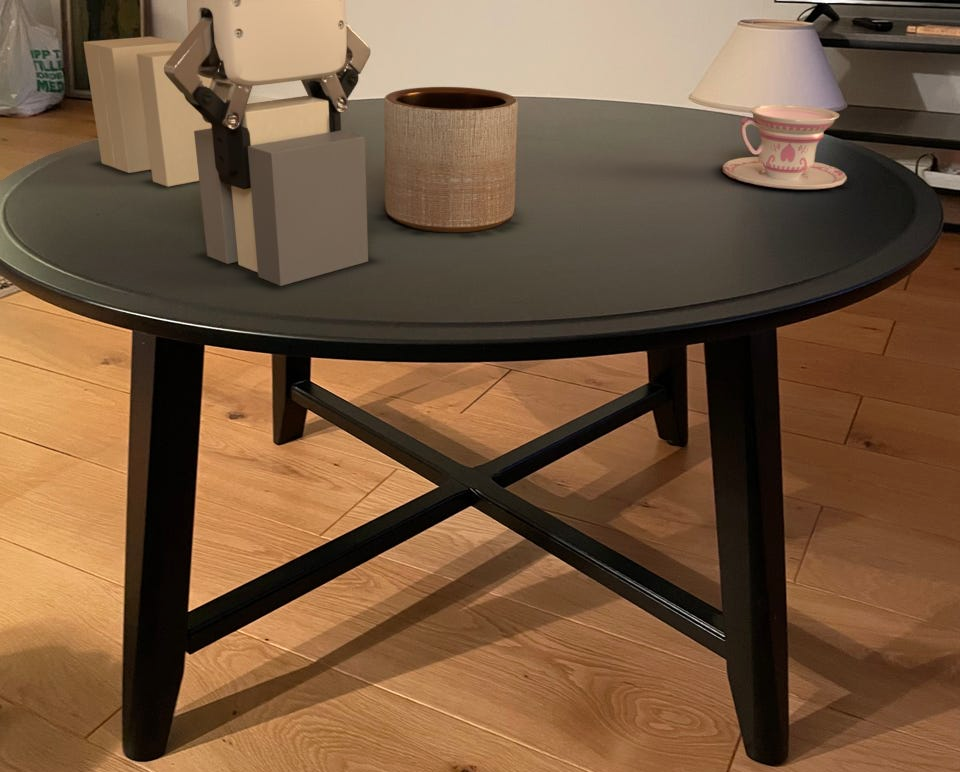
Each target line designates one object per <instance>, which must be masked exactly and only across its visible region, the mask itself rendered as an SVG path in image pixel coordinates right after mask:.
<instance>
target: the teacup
mask: <svg viewBox="0 0 960 772" xmlns="http://www.w3.org/2000/svg"><path fill="white" fill-rule="evenodd" d="M749 112H751V114H752V117H753V119H752V118H749V119H748V117H747V116H745V117H743V118H740V119H739V122H740V123H741V126H740V135H741V139H742V141H743V143H744V144H745V146H746V147H747V149H748V151H749V152H750V153H751V154H752V155H755V156H749V157H748V156H747V157H739V158H735V159H731V160H728V161H726V162H724V164H722V172H723V173H724V174H725V175H727V176H728V177H729V178H731V179H735V180H737V181H740V182H744V183H748V184H753V185H756V186H761V187H762V186H763V187H769V188H774V189H775V188H776V189H786V190H821V189H831V188H832V189H833V188H836V187H839V186H842V185H844V183H845V182H847V178H848V177H847V175H846V173H845V172H844V171H842V170H840V169H839V168H837V167H834V166H831V165H828V164H825V163H821V162H816V161H815V159H816V152H817V147H818V144H819V143H820V141H821V140H822V139H823V138H824V136H825V134H824V132H825V131H826V130H828V129H829V128H830V127H831V126H833V124H834V123H835V121H836V120H838V118H839V117H840V114H839V112H836V111H833V110H830V109H826V108H822V107H816V106H807V105H797V104H761V105H754V106H752V107H750V108H749ZM749 125H752V126H755V127H756V128H758V129H757V131H758V133H759V136H760V145H759V146H758V147H757V149H754V147H753V145H751V143H750V141H749V139H748V136H747V131H746V129H747V126H749ZM756 155H757V156H756Z"/></svg>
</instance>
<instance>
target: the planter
mask: <svg viewBox="0 0 960 772" xmlns="http://www.w3.org/2000/svg"><path fill="white" fill-rule="evenodd" d="M383 100H384V101H383V102H384V104H383V105H384V107H383V108H384V111H383V112H384V205H385V211H386V214H387V215H388V216H390V217H391V218H392V219H393V220H395V222H397V223H399V224H401V225H402V226H406V227H409V228H413V229H415V230H421V231H426V232H436V233H470V232H471V233H472V232H479V231H485V230H489V229H493V228H495V227H496V228H497V227H498V226H500V225H502V224H503V223H505V222H507V221H508V220H510V218H512V216H513V215H514V213H515V205H516V173H517V172H516V171H517V170H516V169H517V135H518V133H517V131H518V111H519V110H518V109H519V108H518V107H519V106H518V105H519V101H518V99H517V97H515V96H513V95H512V94H508V93H505V92H501V91H497V90H491V89H486V88H477V87H476V88H475V87H465V86H464V87H463V86H423V87H413V88H411V87H410V88H404V89H400V90H395V91H392V92H390V93H387V94H386V95H385V96H384V99H383Z"/></svg>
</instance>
